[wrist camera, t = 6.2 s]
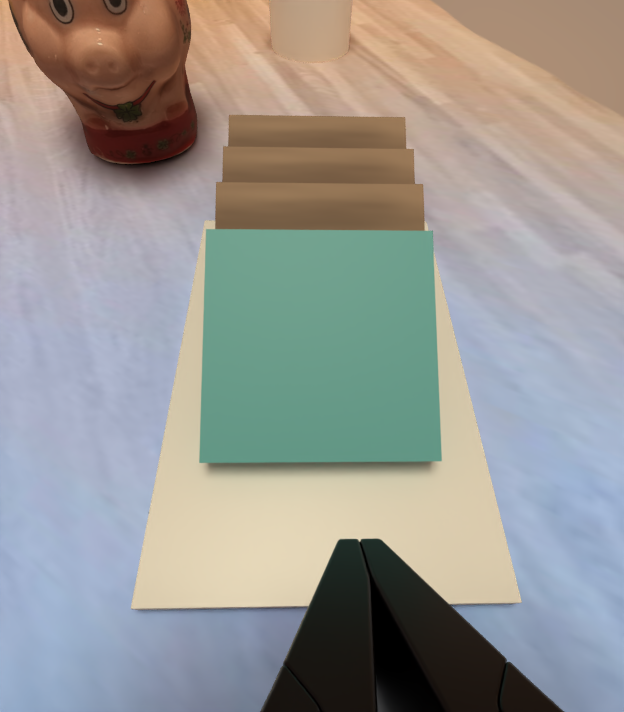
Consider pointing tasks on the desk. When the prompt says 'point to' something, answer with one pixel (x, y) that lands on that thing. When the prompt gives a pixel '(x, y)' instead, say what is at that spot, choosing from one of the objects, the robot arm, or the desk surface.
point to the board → (316, 504)
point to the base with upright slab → (310, 29)
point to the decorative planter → (117, 70)
